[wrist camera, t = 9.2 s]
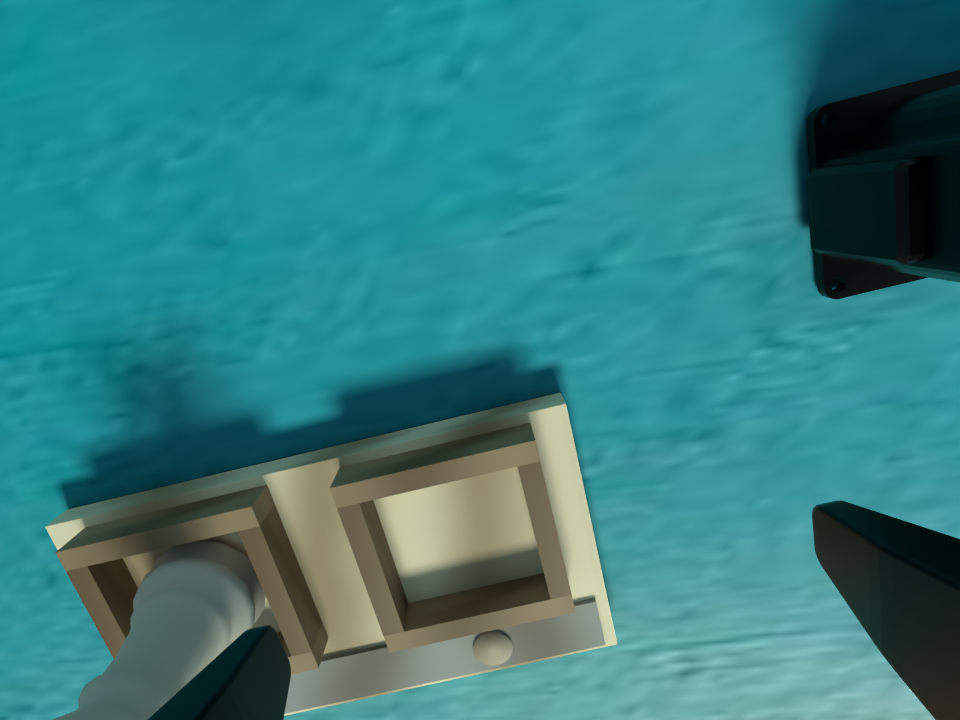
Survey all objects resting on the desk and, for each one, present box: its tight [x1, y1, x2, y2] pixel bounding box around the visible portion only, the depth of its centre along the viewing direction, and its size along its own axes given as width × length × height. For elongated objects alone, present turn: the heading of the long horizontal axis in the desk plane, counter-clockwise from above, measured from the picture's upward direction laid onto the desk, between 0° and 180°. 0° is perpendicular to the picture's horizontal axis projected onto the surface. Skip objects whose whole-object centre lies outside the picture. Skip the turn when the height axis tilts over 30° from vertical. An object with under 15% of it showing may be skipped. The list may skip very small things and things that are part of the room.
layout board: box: [45, 392, 617, 716], centre depth 21 cm, size 20×11×3 cm, turn 104°
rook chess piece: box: [54, 541, 265, 720], centre depth 17 cm, size 4×4×8 cm
